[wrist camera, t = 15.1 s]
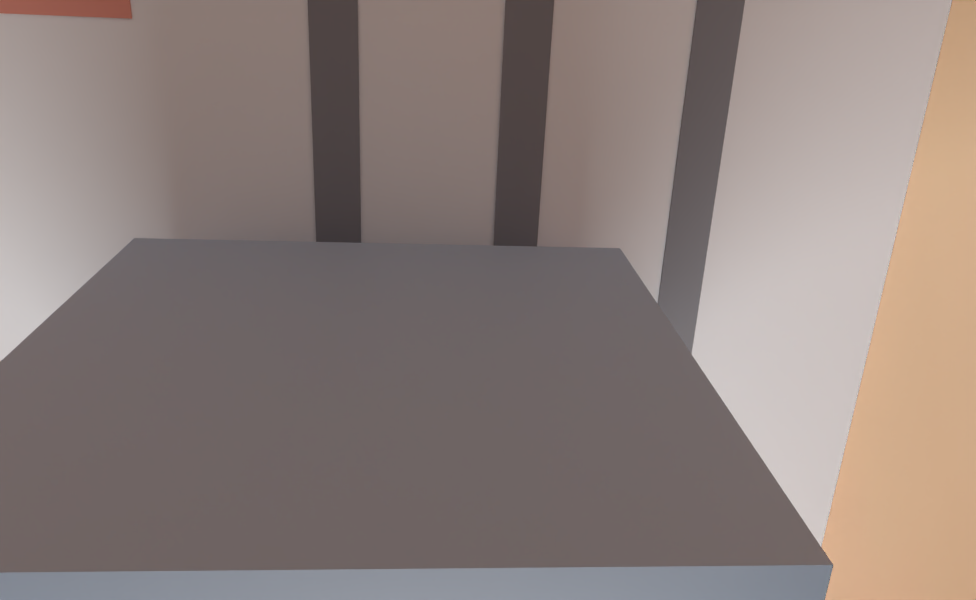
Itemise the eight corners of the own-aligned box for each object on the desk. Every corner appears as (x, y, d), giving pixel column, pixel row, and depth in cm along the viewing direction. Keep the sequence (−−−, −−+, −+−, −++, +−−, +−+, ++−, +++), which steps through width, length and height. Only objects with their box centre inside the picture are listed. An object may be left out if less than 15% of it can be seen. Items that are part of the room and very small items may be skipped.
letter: (743, 825, 14) (751, 844, 14) (3, 850, 13) (-7, 871, 13) (1009, -318, 8) (1032, -329, 8) (-327, -423, 7) (-360, -439, 7)
